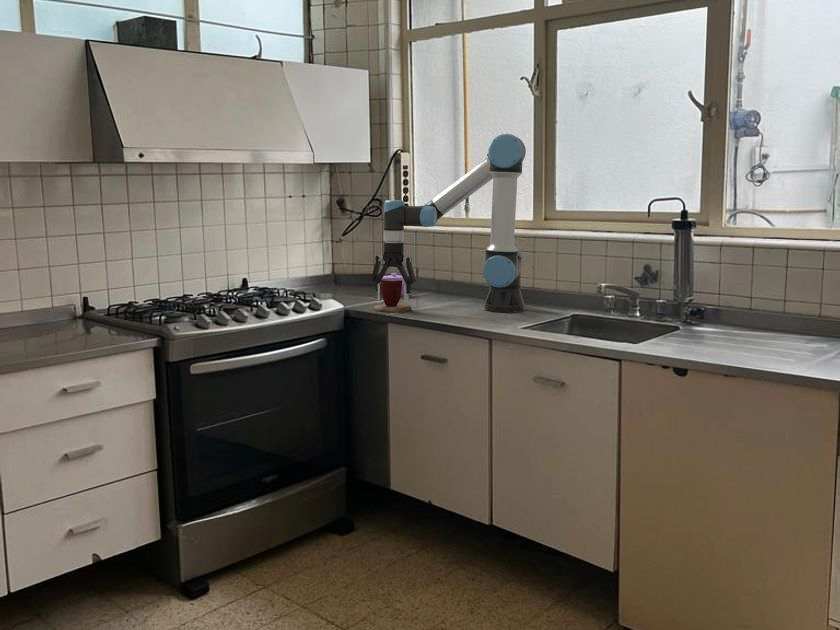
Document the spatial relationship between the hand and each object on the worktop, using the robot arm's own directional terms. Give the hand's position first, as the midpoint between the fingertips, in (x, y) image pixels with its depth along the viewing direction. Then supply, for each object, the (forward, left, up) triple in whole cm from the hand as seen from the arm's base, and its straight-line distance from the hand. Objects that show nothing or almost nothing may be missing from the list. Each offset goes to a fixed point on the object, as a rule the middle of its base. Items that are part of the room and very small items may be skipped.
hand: (393, 301), depth 324 cm
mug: (0, 0, -2) cm, 2 cm away
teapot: (+14, -35, -3) cm, 38 cm away
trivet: (0, 0, -3) cm, 3 cm away
